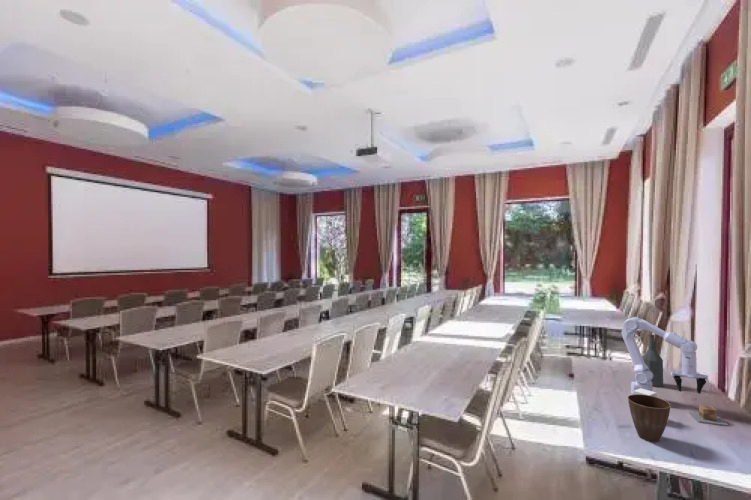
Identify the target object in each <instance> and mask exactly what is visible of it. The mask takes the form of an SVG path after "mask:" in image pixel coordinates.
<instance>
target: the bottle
mask: <svg viewBox="0 0 751 500" xmlns="http://www.w3.org/2000/svg"><path fill="white" fill-rule="evenodd" d="M648 336H649V338H648V339H649V341H648V348H647V350H646V352H645V353H644V354H643V355H642V358H643V360H644V363H645V364H646V365H647V366H648V368H649V370H650V371H651V372H652V373H653V379H652V380H651V382H652V387H653V388H660V387H663V386H664V360H663V359H662V357H661V356H660V354H659V353H658V351H657V350H656V349H657V348H656V342H655V335H654V334H652V333H651V334H649V335H648Z"/></svg>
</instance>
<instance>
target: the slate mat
mask: <svg viewBox="0 0 751 500" xmlns="http://www.w3.org/2000/svg"><path fill="white" fill-rule="evenodd" d="M688 413H689V415H691V417H692V418H693V419H694V420H695V421H696V422H697V423H700V424H708V425H716V426H722V427H723V426H725V427H729V424H728V423H727V422H726V421H724V420H723V419H722V418H721V417H720V416H719V415H718V414H717V421H711V420H704V419H703V418H702V417H701V416H699V412H694V411H689V412H688Z"/></svg>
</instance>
